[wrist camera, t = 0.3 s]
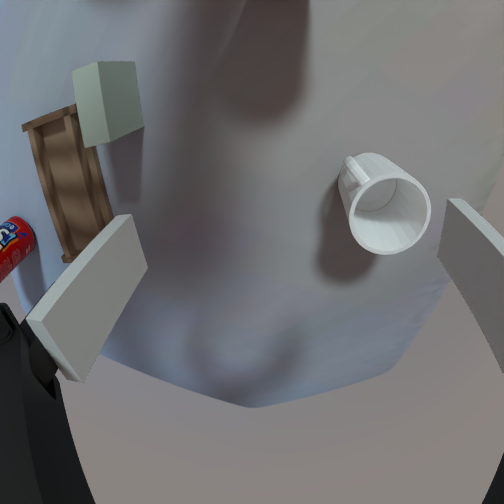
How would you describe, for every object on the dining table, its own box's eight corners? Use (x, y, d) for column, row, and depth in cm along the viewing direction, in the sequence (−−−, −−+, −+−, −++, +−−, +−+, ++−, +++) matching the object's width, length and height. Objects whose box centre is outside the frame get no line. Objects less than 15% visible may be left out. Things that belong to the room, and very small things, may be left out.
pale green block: (111, 68, 32) (71, 71, 24) (135, 61, 31) (97, 61, 24) (121, 131, 37) (84, 148, 29) (144, 126, 36) (110, 142, 28)
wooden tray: (33, 120, 36) (21, 124, 33) (87, 100, 34) (74, 104, 32) (72, 253, 48) (63, 263, 45) (123, 251, 47) (115, 262, 44)
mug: (411, 186, 37) (444, 220, 28) (361, 226, 41) (380, 269, 32) (362, 121, 33) (388, 137, 25) (308, 167, 37) (316, 198, 29)
